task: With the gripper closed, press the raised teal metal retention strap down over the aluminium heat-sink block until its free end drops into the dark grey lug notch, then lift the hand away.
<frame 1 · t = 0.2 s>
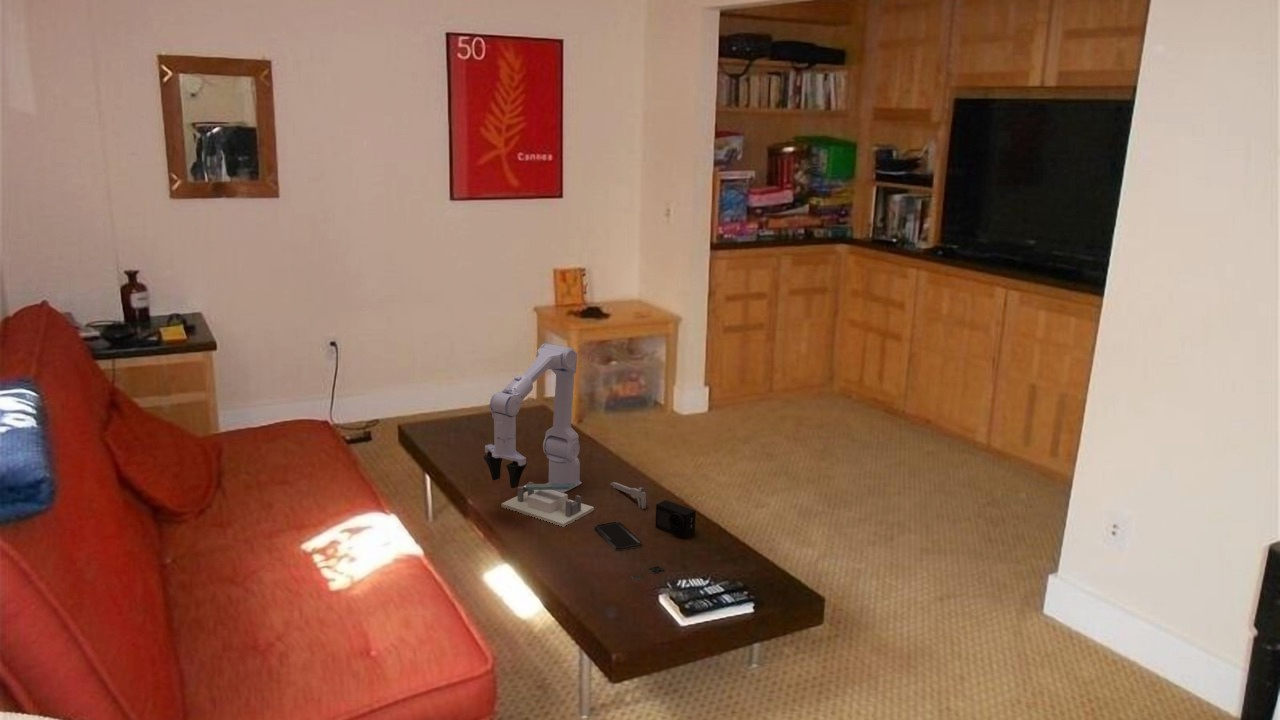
hand: (505, 483, 260), 10 cm above the table, fingers open, 7 cm apart
circuit board: (654, 573, 236), on the table
socket board: (547, 508, 269), on the table
phone: (617, 539, 253), on the table
retention strap: (547, 486, 267), point 7 cm above the table, hinge at 15.0°
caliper: (627, 498, 280), on the table
digital camera: (673, 532, 258), on the table
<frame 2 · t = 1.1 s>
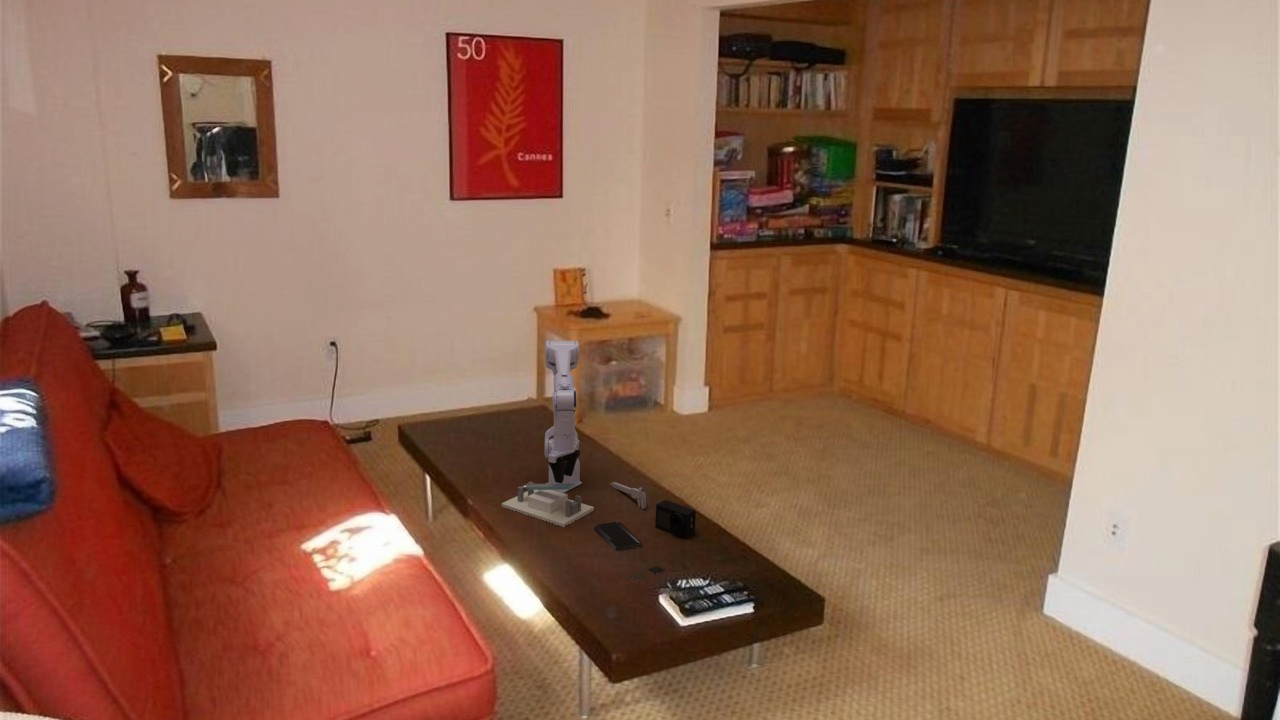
hand: (563, 478, 264), 10 cm above the table, fingers open, 5 cm apart
nothing on the table moved.
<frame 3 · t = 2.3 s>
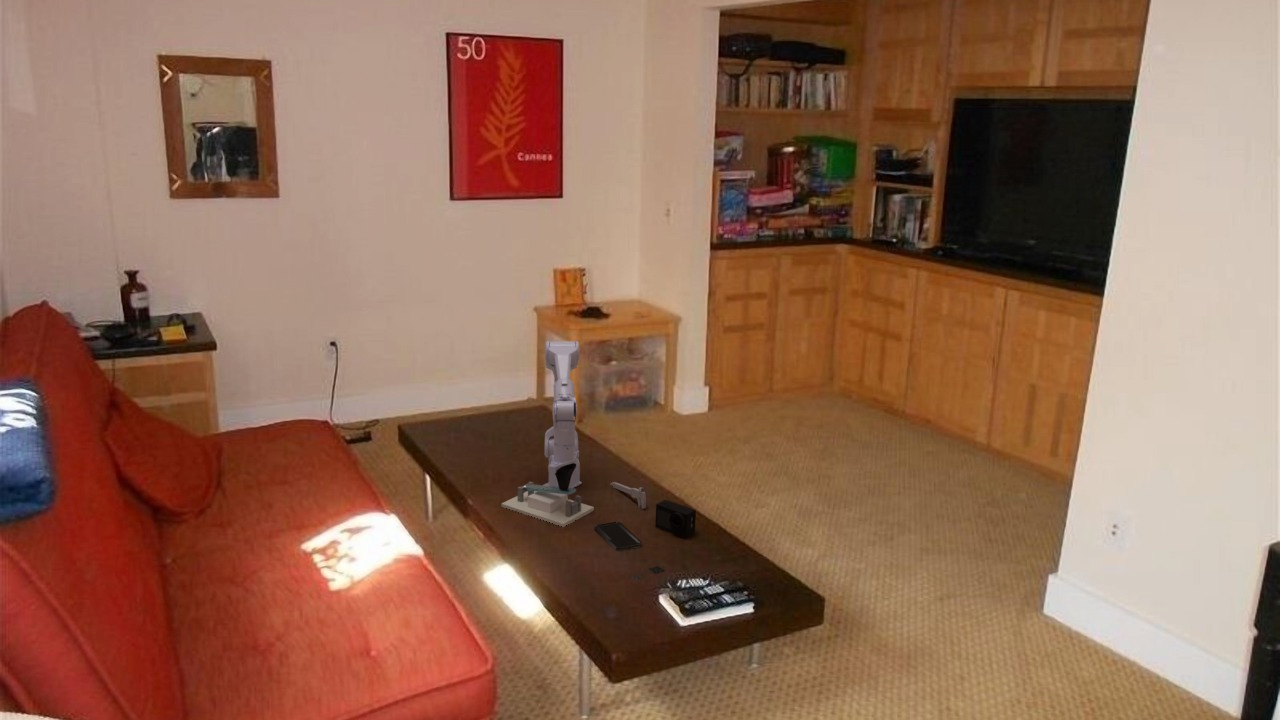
hand: (563, 489, 264), 7 cm above the table, fingers closed, pressing on retention strap
retention strap: (548, 489, 267), point 6 cm above the table, hinge at 9.9°, touching gripper
everything else where it was.
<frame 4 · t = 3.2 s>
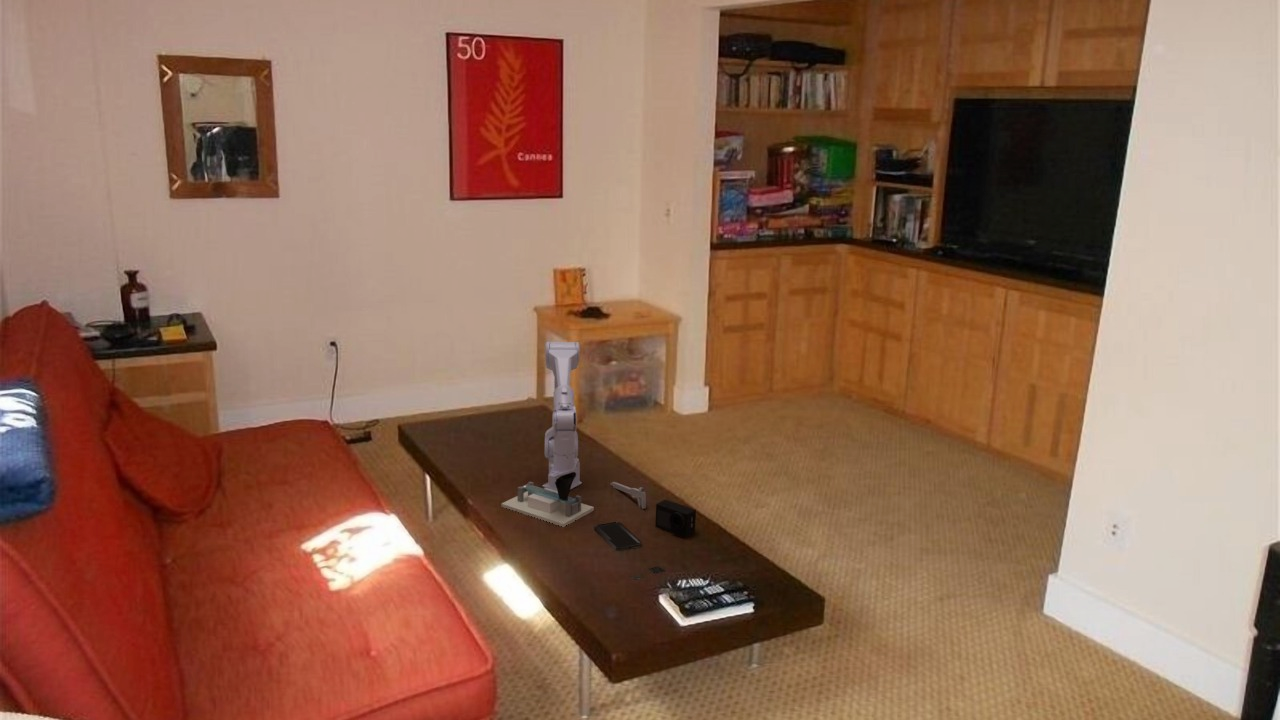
hand: (563, 498, 265), 5 cm above the table, fingers closed, pressing on retention strap
retention strap: (548, 494, 268), point 4 cm above the table, hinge at -0.4°, touching gripper, socket board
everything else where it was.
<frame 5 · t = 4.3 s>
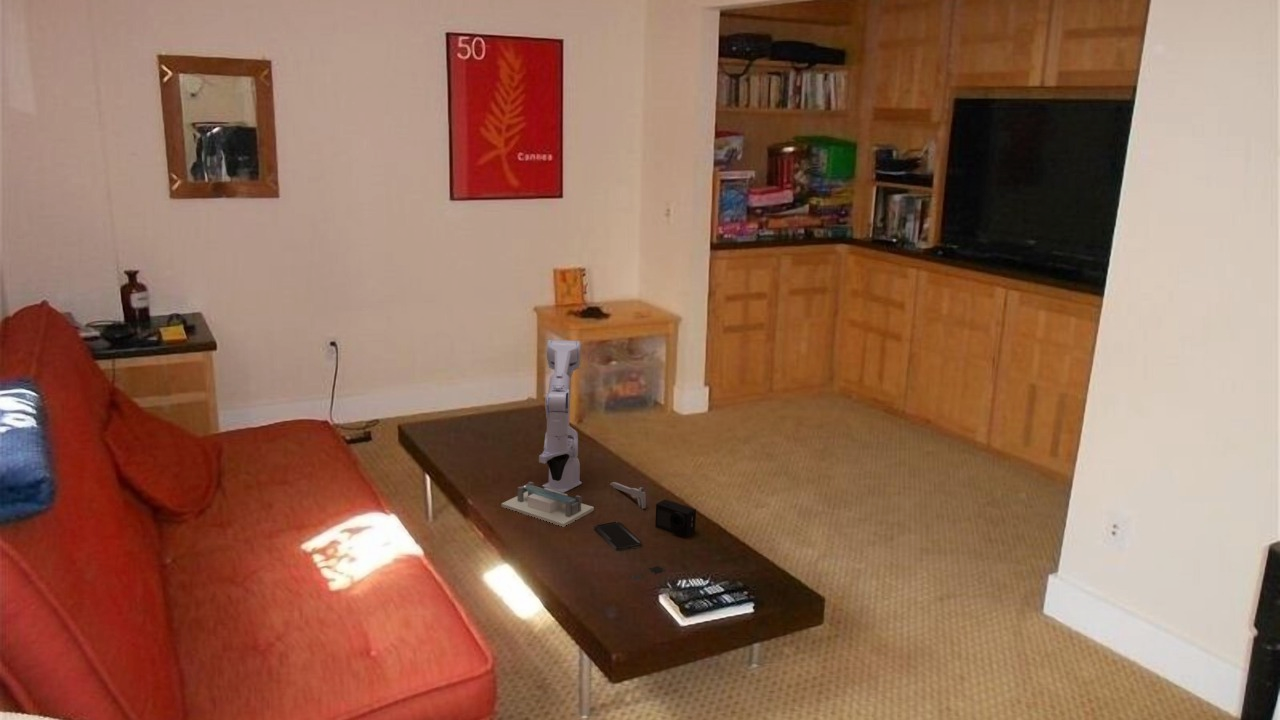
hand: (556, 479, 266), 9 cm above the table, fingers closed
retention strap: (548, 494, 268), point 4 cm above the table, hinge at -0.4°, touching socket board
everything else where it was.
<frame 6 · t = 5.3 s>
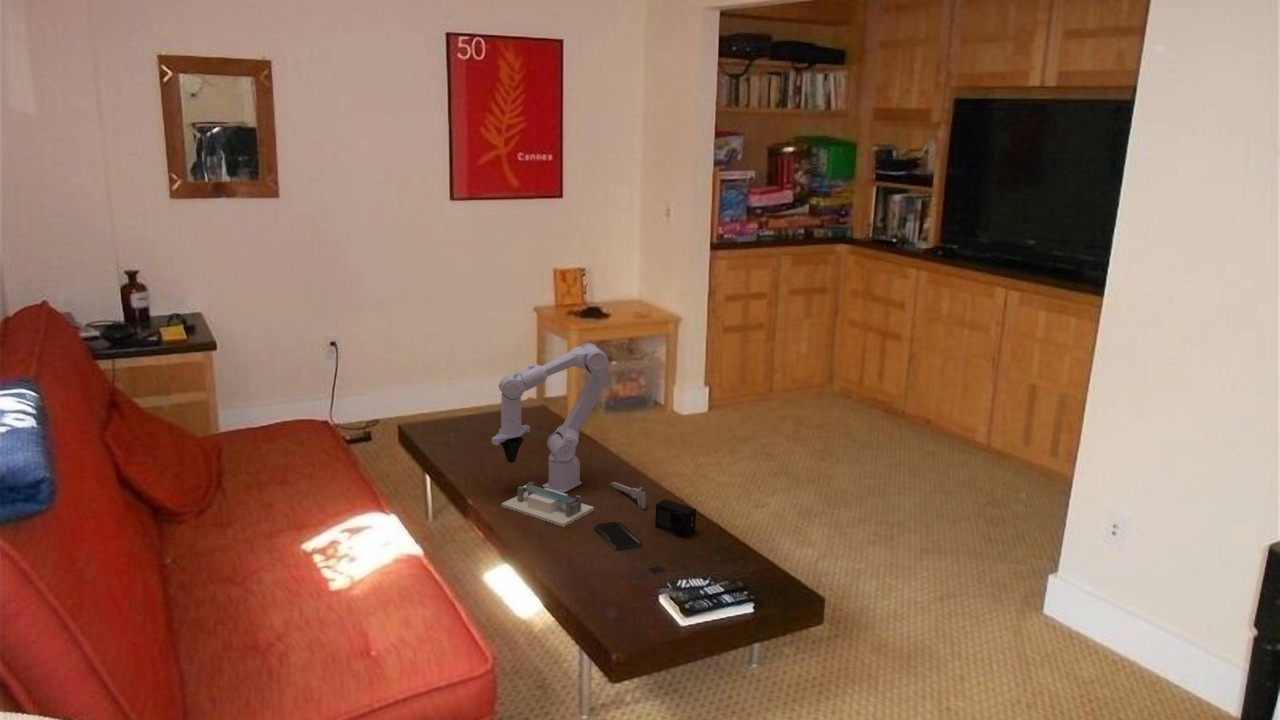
hand: (511, 461, 277), 9 cm above the table, fingers closed
nothing on the table moved.
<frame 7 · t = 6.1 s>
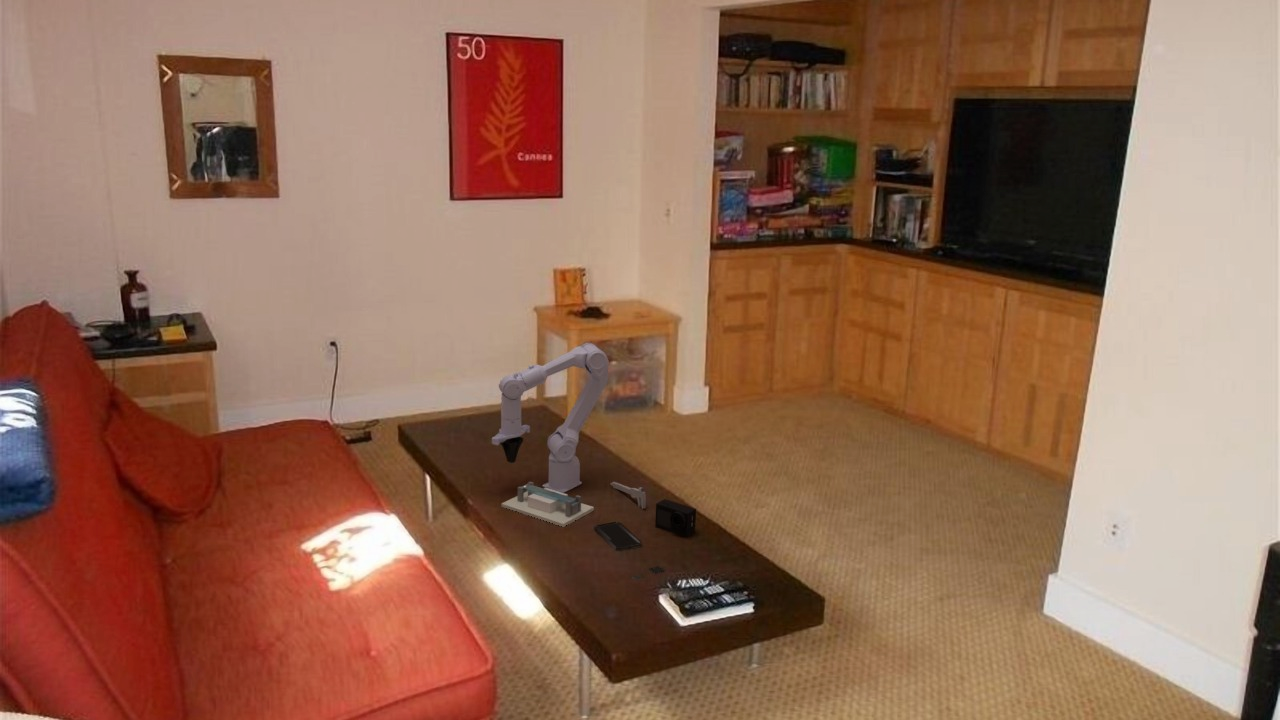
hand: (511, 461, 277), 9 cm above the table, fingers closed
nothing on the table moved.
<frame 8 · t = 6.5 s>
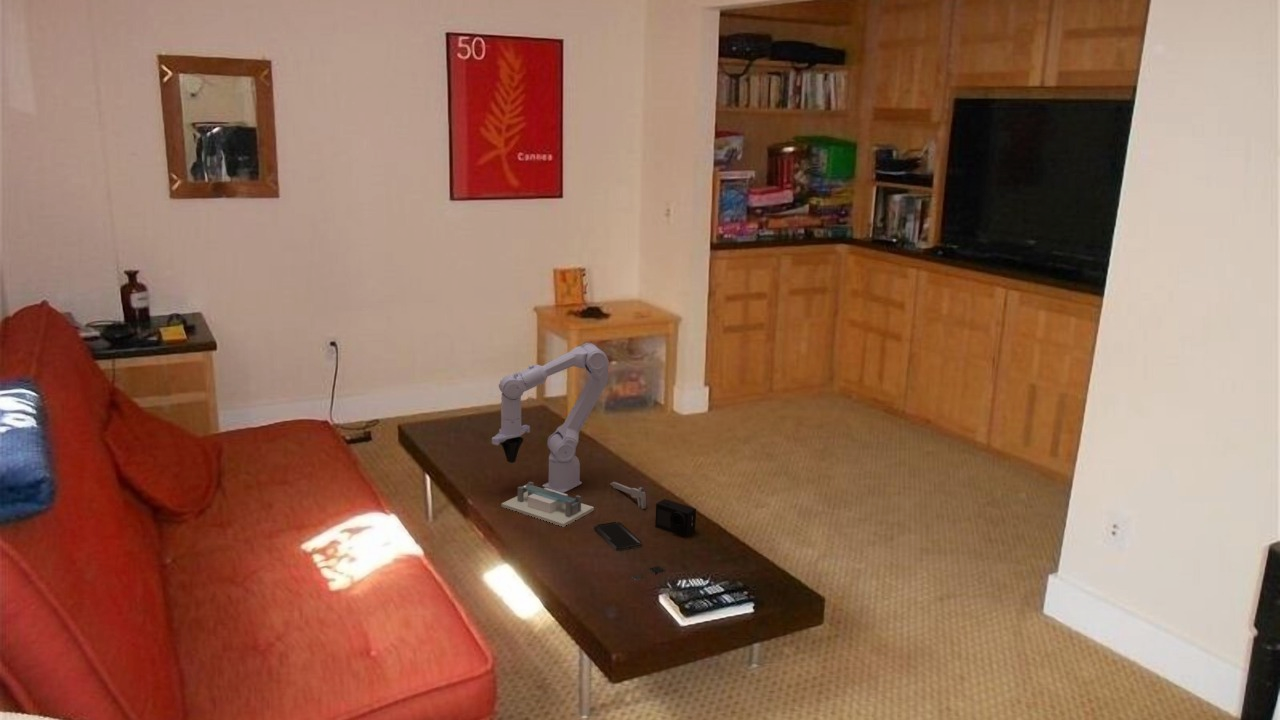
hand: (511, 461, 277), 9 cm above the table, fingers closed
nothing on the table moved.
at the end: retention strap at +0° (first picture: +15°) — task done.
